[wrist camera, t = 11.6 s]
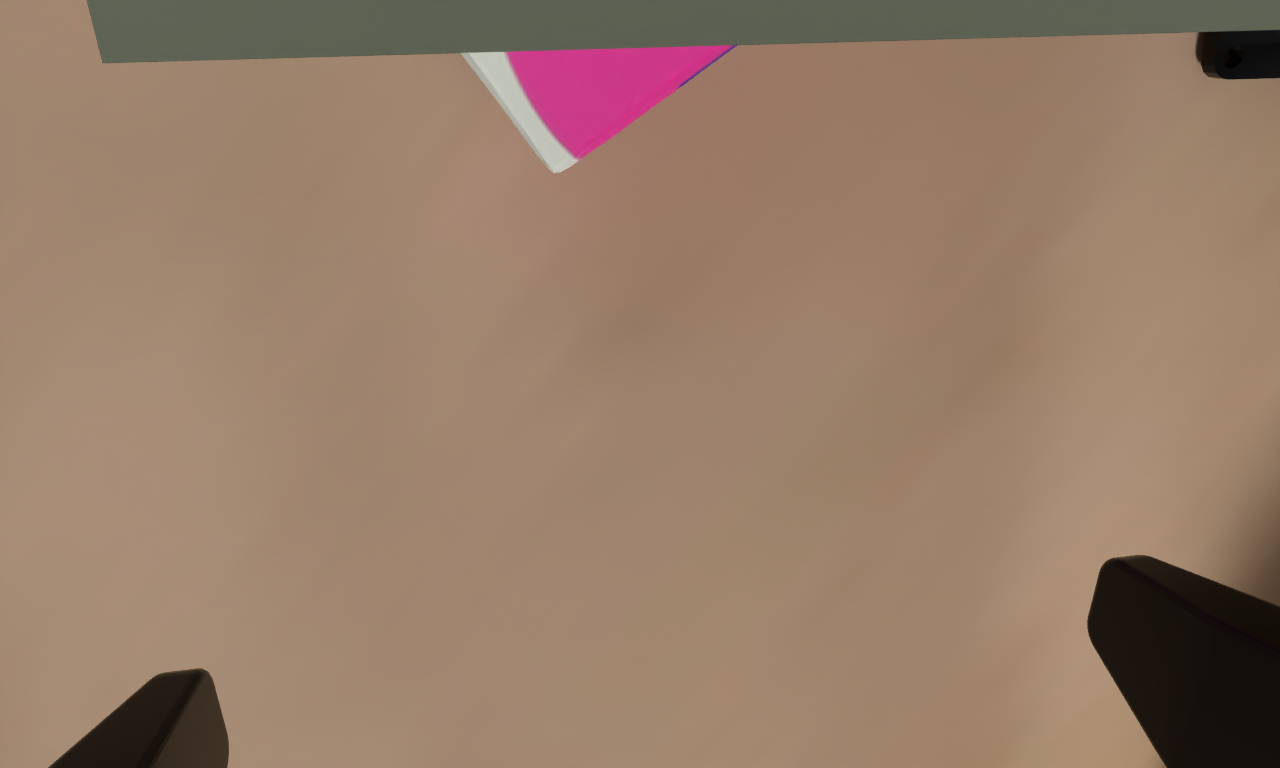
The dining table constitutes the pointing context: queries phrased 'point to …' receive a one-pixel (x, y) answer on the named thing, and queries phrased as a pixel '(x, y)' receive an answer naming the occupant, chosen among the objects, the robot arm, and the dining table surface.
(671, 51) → the supplement box
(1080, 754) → the dining table surface
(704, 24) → the sage cube
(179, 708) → the robot arm
